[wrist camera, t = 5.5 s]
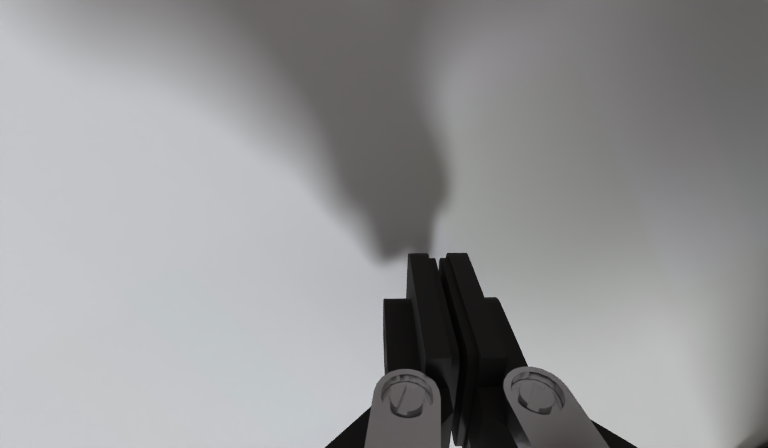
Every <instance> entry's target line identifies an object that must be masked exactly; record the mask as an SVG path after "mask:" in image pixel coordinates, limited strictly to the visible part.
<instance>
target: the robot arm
mask: <svg viewBox="0 0 768 448" xmlns="http://www.w3.org/2000/svg"><path fill="white" fill-rule="evenodd" d="M383 340H384V367H385V375H384V376H383V377H382V378H381V379H380V380H379V381H378V383H377V384H376V387H375V390H374V393H373V399H372V405H371V407H370V408H369V409H368V410H367V411H366V412H364V413H363V414H362V415H361V416H360V417H359V418H358V419H357V420H355V421H354V422H353V423H352V424H351V425H350V426H349V427H348V428H346V429H345V430H344V431H343V432H342V433H341V434H340V435H339V436H337V437H336V438H335V439H334V440H333V441H332V442H331V443H330V444H328V445H327V446H326V447H325V448H449V444H450V437H451V431H452V436H453V441H454V444H455V446H462V448H637V447H636V446H634V445H632V444H631V443H629V442H627V441H626V440H624V439H622V438H621V437H619V436H617V435H616V434H614V433H612V432H611V431H609V430H607V429H606V428H604V427H602V426H600V425H599V424H597V423H595V422H594V421H592V420H590V419H589V417H588V416H587V414H586V413H585V412H584V410H583V409H582V407H581V406H580V404H579V403H578V402H577V400H576V399H575V397H574V396H573V394H572V393H571V391H570V390H569V389H568V387H567V386H566V385H565V384H564V383H563V382H562V381H561V380H560V379H559V378H558V377H556V376H555V375H553V374H552V373H550V372H548V371H545V370H543V369H540V368H536V367H528V365H527V363H526V361H525V358H524V356H523V354H522V351H521V349H520V347H519V345H518V342H517V340H516V338H515V335H514V333H513V331H512V329H511V326H510V324H509V322H508V319H507V317H506V315H505V312H504V310H503V308H502V306H501V303H500V301H499V300H498V298H496V297H488V298H484V295H483V292H482V290H481V287H480V285H479V282H478V280H477V277H476V275H475V272H474V269H473V267H472V264H471V262H470V259H469V257H468V254H467V253H447V255H446V258H440V261H439V271H438V267H437V263H436V260H435V258H429V256H428V254H427V253H414V254H408V268H407V292H406V299H384V302H383Z"/></svg>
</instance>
